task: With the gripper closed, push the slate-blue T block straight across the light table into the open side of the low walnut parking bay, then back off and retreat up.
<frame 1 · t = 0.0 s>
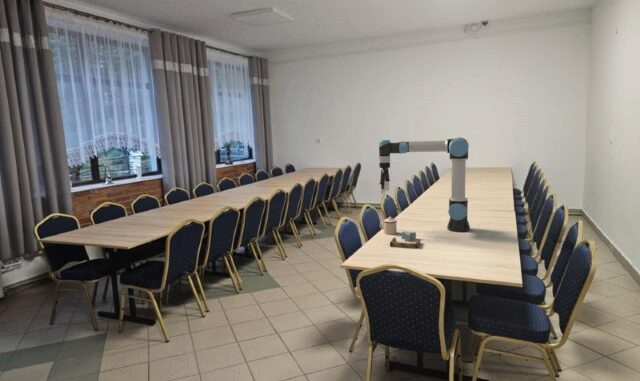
hand: (385, 192, 285), 28 cm above the table, fingers open, 13 cm apart
teacup with lid: (388, 233, 282), on the table
walnut bay: (405, 244, 252), on the table
slate t block: (408, 239, 263), on the table
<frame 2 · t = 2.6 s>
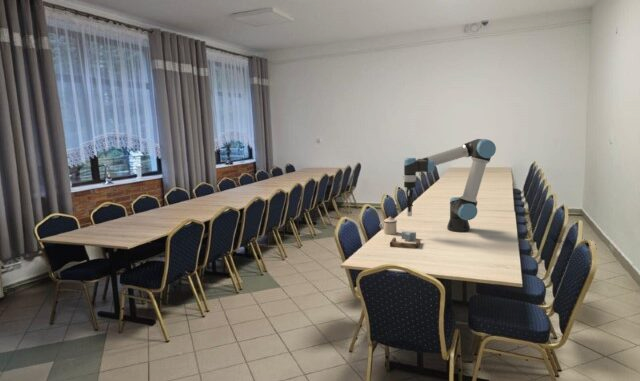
hand: (409, 216, 269), 14 cm above the table, fingers closed
nothing on the table moved.
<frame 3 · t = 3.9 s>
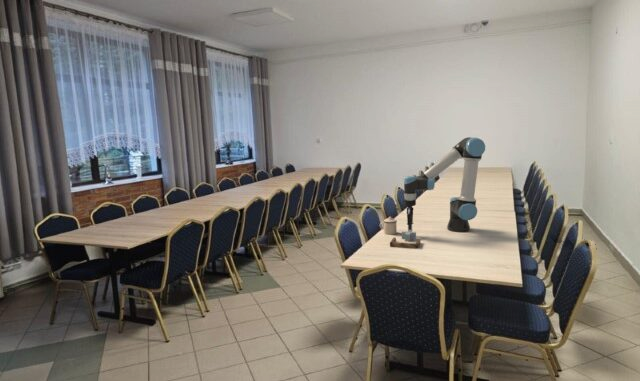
hand: (410, 233, 271), 2 cm above the table, fingers closed
nothing on the table moved.
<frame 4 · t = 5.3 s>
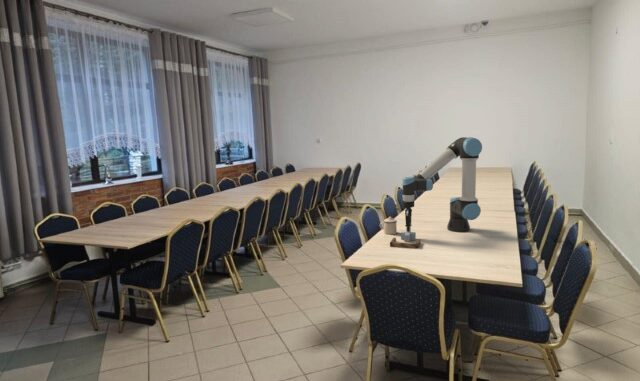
hand: (408, 235, 266), 2 cm above the table, fingers closed
slate t block: (407, 240, 262), on the table, touching gripper
everything else where it was.
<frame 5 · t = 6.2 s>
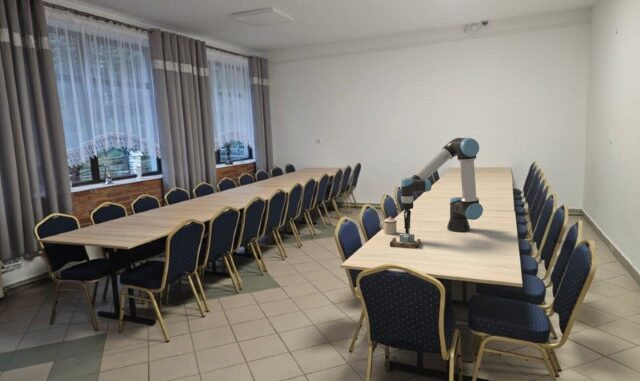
hand: (407, 237, 261), 2 cm above the table, fingers closed
slate t block: (406, 242, 257), on the table, touching gripper
everything else where it was.
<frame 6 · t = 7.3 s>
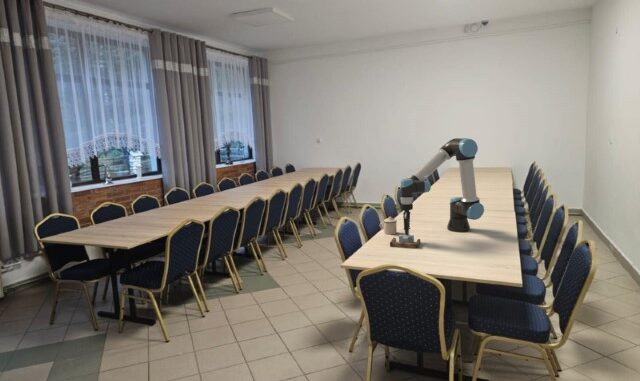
hand: (406, 239, 258), 2 cm above the table, fingers closed
slate t block: (405, 243, 254), on the table, touching gripper
everything else where it was.
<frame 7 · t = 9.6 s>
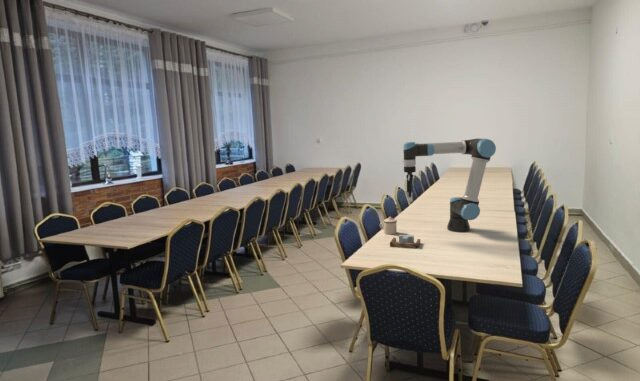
hand: (410, 201, 264), 24 cm above the table, fingers closed
slate t block: (405, 243, 254), on the table
everything else where it was.
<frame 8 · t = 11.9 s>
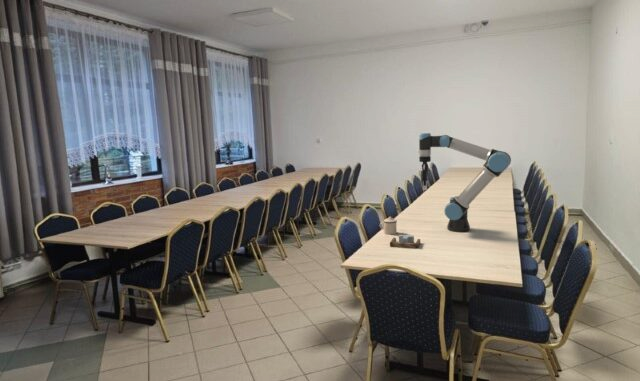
hand: (424, 189, 278), 29 cm above the table, fingers closed
nothing on the table moved.
at the end: slate t block inside the target area (0.1 cm from its centre), on the table; slate t block moved 9.7 cm from its start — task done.
